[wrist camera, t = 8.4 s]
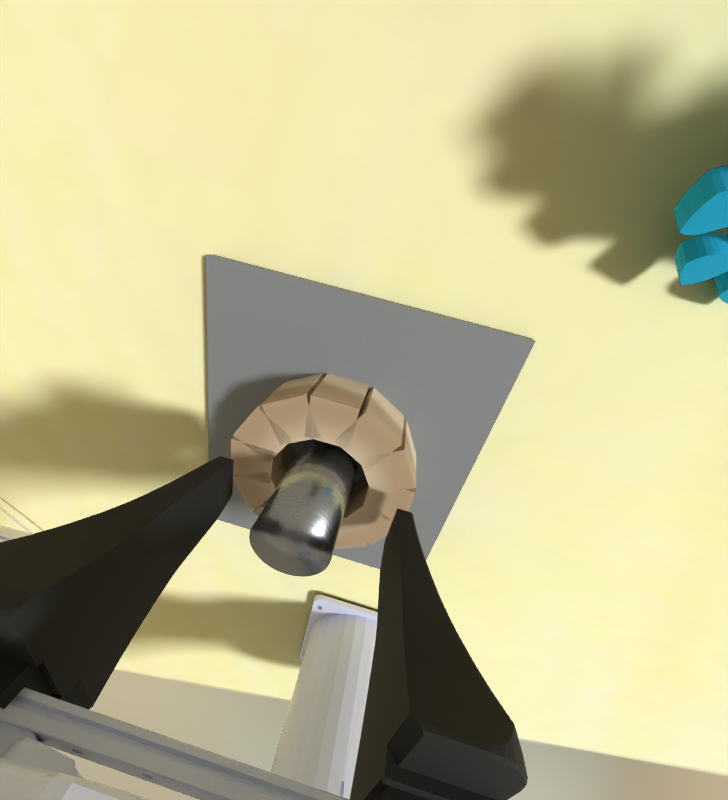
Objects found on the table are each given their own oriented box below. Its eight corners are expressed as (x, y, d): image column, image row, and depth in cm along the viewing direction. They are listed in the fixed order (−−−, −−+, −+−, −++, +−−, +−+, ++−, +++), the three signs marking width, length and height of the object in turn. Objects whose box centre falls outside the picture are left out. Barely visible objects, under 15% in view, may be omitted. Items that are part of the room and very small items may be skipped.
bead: (389, 528, 18) (385, 567, 16) (252, 487, 18) (228, 519, 16) (437, 403, 14) (440, 431, 12) (261, 354, 14) (232, 373, 12)
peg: (353, 480, 17) (322, 585, 11) (301, 463, 17) (246, 561, 11) (367, 435, 15) (339, 531, 10) (310, 418, 15) (252, 504, 10)
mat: (416, 572, 20) (416, 580, 19) (214, 511, 20) (209, 517, 20) (531, 338, 13) (535, 341, 12) (212, 254, 13) (205, 254, 13)
